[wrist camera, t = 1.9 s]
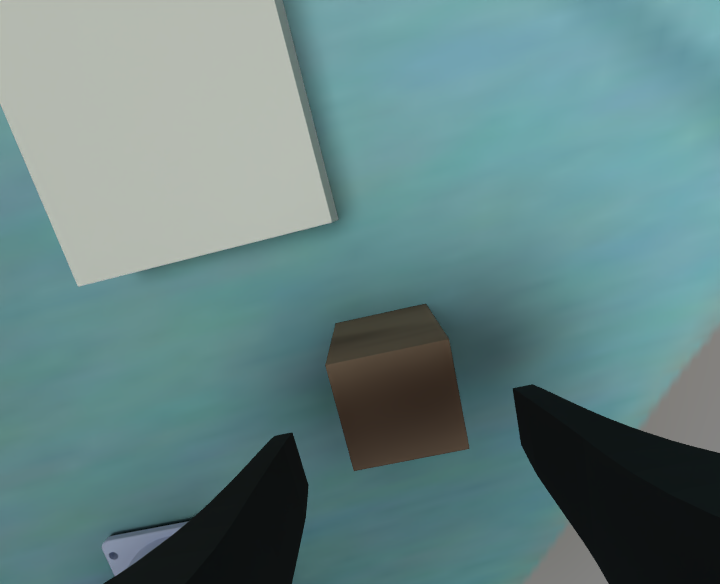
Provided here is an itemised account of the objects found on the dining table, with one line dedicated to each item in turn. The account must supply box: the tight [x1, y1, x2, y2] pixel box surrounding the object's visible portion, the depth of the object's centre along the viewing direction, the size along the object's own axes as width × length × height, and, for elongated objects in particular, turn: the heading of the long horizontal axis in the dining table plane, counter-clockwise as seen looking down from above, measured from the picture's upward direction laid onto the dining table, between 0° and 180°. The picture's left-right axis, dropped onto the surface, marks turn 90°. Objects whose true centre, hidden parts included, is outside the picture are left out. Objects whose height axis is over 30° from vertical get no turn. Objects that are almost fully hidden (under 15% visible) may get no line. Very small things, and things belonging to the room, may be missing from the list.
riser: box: [0, 0, 339, 287], centre depth 14 cm, size 10×10×4 cm
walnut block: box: [325, 304, 469, 471], centre depth 16 cm, size 4×4×5 cm
